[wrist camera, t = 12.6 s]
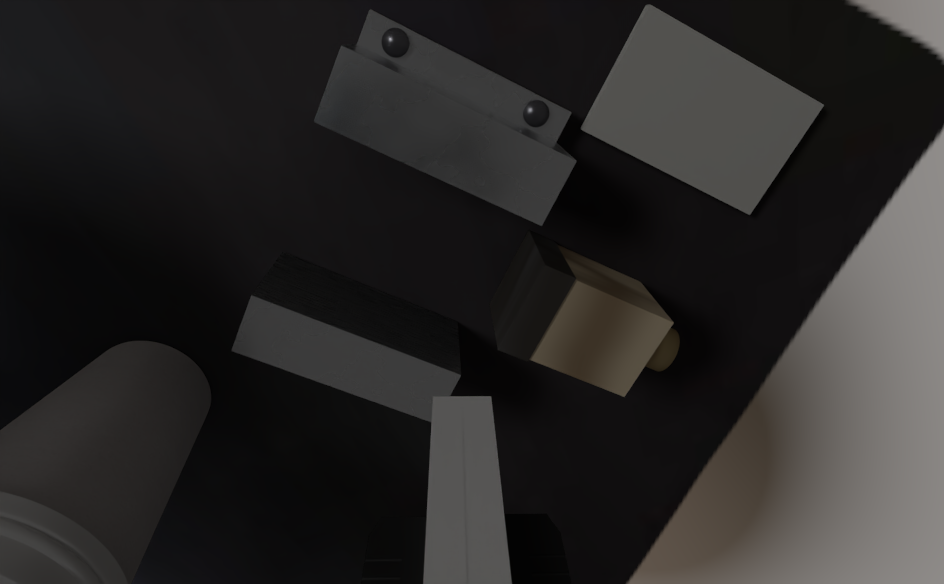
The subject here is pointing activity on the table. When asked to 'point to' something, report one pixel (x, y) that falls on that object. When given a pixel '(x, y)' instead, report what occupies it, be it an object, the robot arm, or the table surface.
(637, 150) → the mat
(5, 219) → the table surface
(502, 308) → the tan piece
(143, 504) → the coffee cup
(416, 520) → the robot arm
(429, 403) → the dark grey boxy pieces
